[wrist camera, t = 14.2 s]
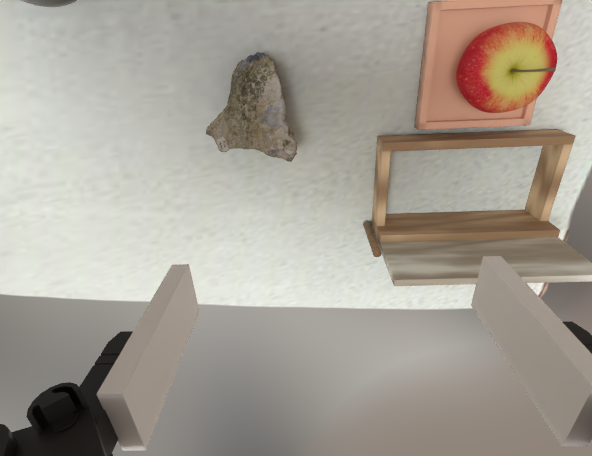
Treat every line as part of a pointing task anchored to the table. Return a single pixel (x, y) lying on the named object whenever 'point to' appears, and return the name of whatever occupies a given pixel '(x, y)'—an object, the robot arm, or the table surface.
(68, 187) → the table surface
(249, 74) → the rock
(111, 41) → the table surface
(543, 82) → the apple
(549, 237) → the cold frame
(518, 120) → the dish
